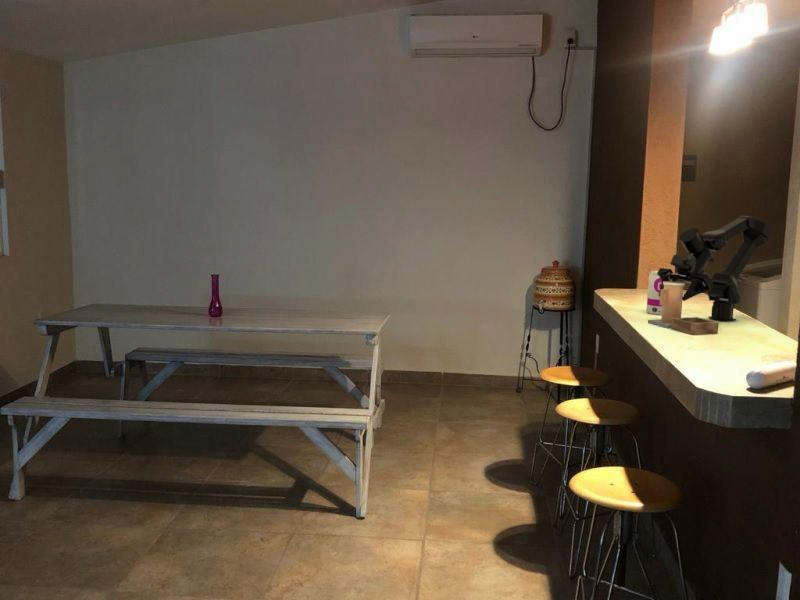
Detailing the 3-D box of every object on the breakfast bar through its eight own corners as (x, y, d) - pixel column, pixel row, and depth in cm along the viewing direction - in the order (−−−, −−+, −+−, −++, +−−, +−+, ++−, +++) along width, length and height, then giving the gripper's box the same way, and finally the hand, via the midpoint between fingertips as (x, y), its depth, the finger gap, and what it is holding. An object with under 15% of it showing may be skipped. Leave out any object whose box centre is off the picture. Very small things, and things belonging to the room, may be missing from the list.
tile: (672, 321, 257) (672, 318, 257) (693, 327, 248) (693, 324, 248) (647, 322, 254) (648, 320, 254) (668, 328, 244) (668, 325, 244)
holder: (695, 327, 247) (696, 317, 246) (717, 333, 238) (718, 322, 237) (670, 329, 243) (671, 318, 243) (692, 334, 234) (693, 323, 234)
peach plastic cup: (669, 319, 255) (672, 280, 253) (685, 322, 250) (689, 283, 248) (651, 321, 251) (654, 282, 249) (667, 324, 245) (670, 284, 243)
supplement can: (671, 315, 270) (675, 273, 267) (647, 314, 271) (650, 272, 269) (668, 312, 278) (671, 271, 275) (644, 311, 279) (648, 270, 277)
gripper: (662, 244, 257) (637, 278, 253) (710, 248, 242) (684, 285, 237) (676, 266, 263) (652, 300, 258) (724, 272, 247) (699, 308, 243)
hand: (671, 298), depth 249 cm, fingers open, 9 cm apart
